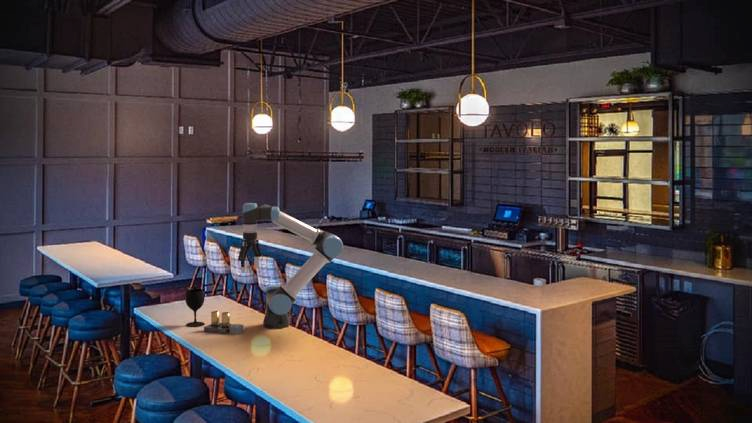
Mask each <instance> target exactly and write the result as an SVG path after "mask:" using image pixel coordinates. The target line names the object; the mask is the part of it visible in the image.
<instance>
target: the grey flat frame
mask: <svg viewBox="0 0 752 423" xmlns="http://www.w3.org/2000/svg"><path fill="white" fill-rule="evenodd" d="M234 324H235V323H234ZM234 324H233V323H230V326H232V325H234ZM203 332H204V333H205V332H206V333H215V334H219V335H220V334H221V335H227V334H230V327H229V328H222V322H219V326H218V327H213V326H211V323H210V324H208V325H204V327H203Z"/></svg>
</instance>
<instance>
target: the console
mask: <svg viewBox="0 0 752 423" xmlns="http://www.w3.org/2000/svg"><path fill="white" fill-rule="evenodd" d="M238 324H239V327H234V325H232V326H230V332H229V335H235V334H236V335H237V336H238V335H240V334H243V333H244V330H245V328H244V327H245V326H244V324H240V323H238Z"/></svg>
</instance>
